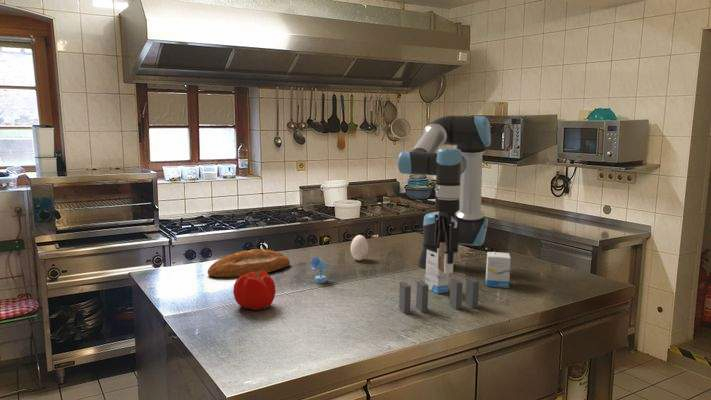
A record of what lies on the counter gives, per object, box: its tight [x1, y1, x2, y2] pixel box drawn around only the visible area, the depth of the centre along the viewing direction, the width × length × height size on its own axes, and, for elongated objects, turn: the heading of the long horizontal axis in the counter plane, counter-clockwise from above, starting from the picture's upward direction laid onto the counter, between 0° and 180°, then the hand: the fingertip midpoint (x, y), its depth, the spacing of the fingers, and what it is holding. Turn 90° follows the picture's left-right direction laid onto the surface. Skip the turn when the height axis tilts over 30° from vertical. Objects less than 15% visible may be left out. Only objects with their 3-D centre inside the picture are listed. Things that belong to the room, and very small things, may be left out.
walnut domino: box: [439, 242, 451, 275], centre depth 165 cm, size 5×2×9 cm, turn 15°
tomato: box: [232, 271, 276, 311], centre depth 171 cm, size 13×14×12 cm
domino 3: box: [448, 278, 463, 311], centre depth 174 cm, size 5×2×9 cm, turn 15°
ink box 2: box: [485, 251, 512, 289], centre depth 200 cm, size 9×8×12 cm
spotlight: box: [309, 256, 329, 284], centre depth 200 cm, size 5×10×7 cm
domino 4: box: [465, 277, 480, 309], centre depth 176 cm, size 5×2×9 cm, turn 15°
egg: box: [350, 234, 369, 261], centre depth 231 cm, size 8×8×11 cm
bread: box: [207, 248, 291, 278], centre depth 213 cm, size 18×35×9 cm, turn 124°
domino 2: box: [415, 280, 429, 313], centre depth 171 cm, size 5×2×9 cm, turn 15°
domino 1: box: [398, 281, 412, 315], centre depth 170 cm, size 5×2×9 cm, turn 15°
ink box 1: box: [424, 249, 450, 295], centre depth 191 cm, size 8×5×15 cm, turn 26°
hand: (444, 270), depth 166 cm, fingers closed on walnut domino, 5 cm apart
